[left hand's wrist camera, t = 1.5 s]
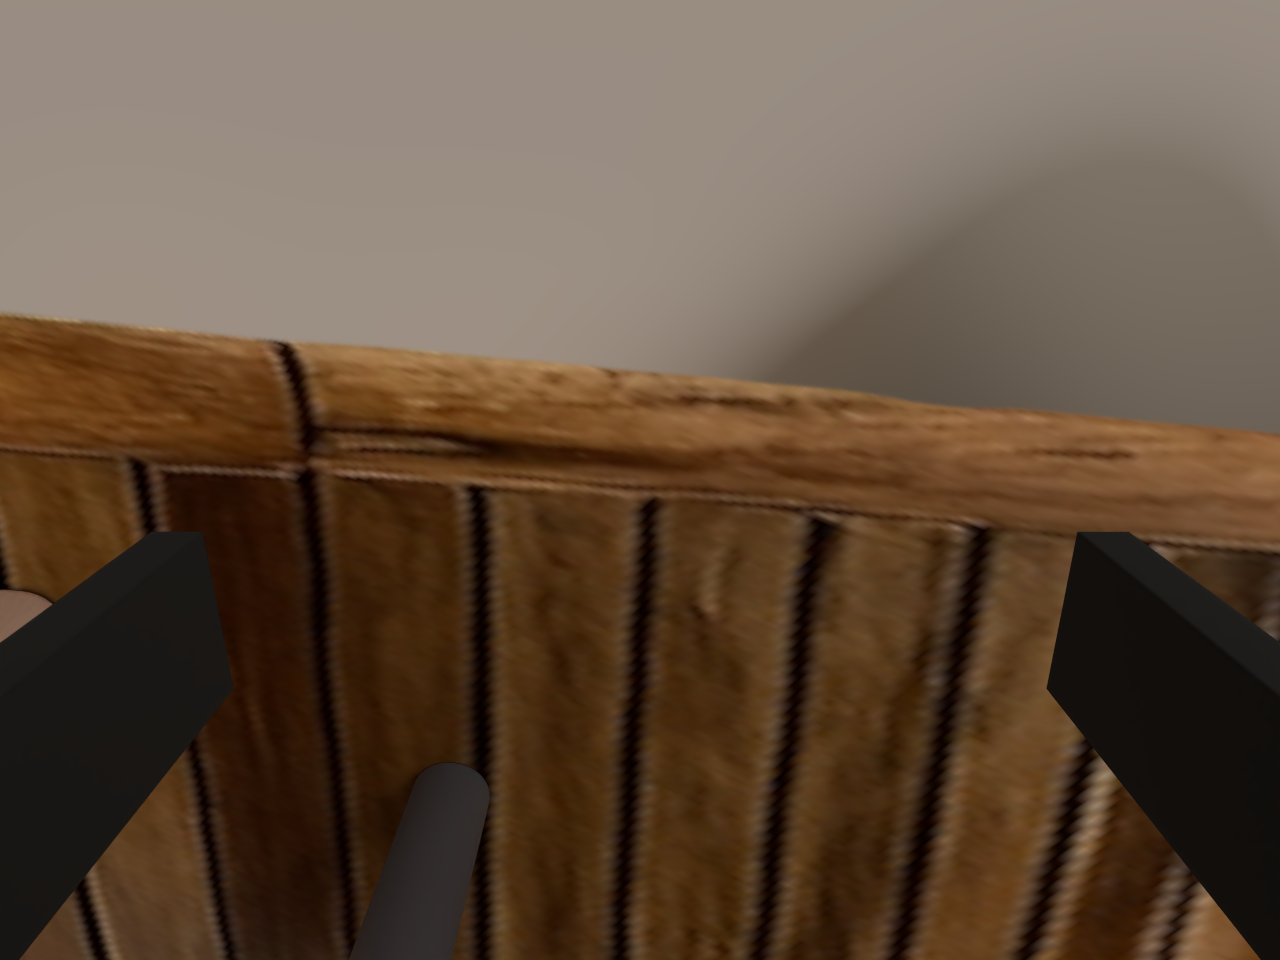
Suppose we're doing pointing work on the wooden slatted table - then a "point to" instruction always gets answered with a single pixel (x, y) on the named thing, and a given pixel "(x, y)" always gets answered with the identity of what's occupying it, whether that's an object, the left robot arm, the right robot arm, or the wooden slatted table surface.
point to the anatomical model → (18, 610)
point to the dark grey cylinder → (427, 869)
